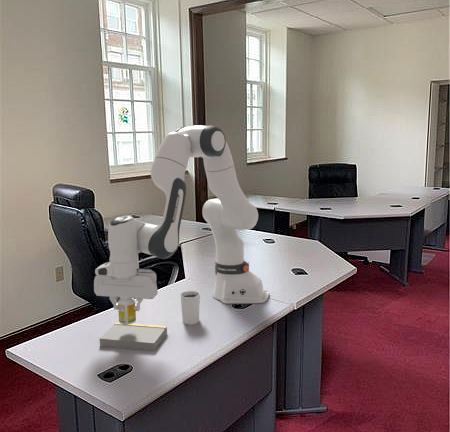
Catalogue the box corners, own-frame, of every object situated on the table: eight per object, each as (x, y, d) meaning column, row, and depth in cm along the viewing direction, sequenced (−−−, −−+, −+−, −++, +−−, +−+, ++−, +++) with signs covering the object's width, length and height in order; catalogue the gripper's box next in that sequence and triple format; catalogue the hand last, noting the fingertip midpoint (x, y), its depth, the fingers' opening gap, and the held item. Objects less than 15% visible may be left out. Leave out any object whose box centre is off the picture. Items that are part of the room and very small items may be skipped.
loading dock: (167, 333, 152) (166, 326, 152) (154, 350, 141) (154, 342, 140) (116, 329, 156) (115, 322, 155) (100, 345, 144) (99, 337, 144)
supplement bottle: (118, 325, 145) (116, 296, 143) (120, 318, 150) (118, 290, 148) (135, 324, 145) (133, 295, 144) (136, 317, 151) (135, 289, 149)
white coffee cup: (186, 316, 166) (185, 289, 164) (203, 318, 164) (202, 292, 162) (178, 323, 160) (177, 296, 158) (195, 326, 158) (194, 298, 156)
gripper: (159, 266, 145) (161, 307, 148) (99, 263, 149) (102, 303, 152) (152, 272, 139) (154, 315, 142) (90, 269, 143) (93, 311, 146)
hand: (127, 309), depth 147 cm, fingers closed on supplement bottle, 5 cm apart
